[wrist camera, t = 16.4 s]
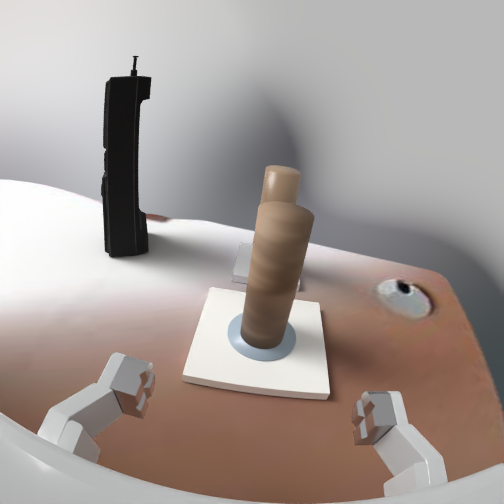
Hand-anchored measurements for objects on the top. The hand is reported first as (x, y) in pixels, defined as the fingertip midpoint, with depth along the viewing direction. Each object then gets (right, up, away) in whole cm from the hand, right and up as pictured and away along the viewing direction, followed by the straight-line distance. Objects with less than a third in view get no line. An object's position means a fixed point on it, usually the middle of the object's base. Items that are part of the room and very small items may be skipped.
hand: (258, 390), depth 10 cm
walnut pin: (+1, -2, +17) cm, 17 cm away
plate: (+1, -3, +17) cm, 18 cm away
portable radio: (-18, +6, +30) cm, 35 cm away
